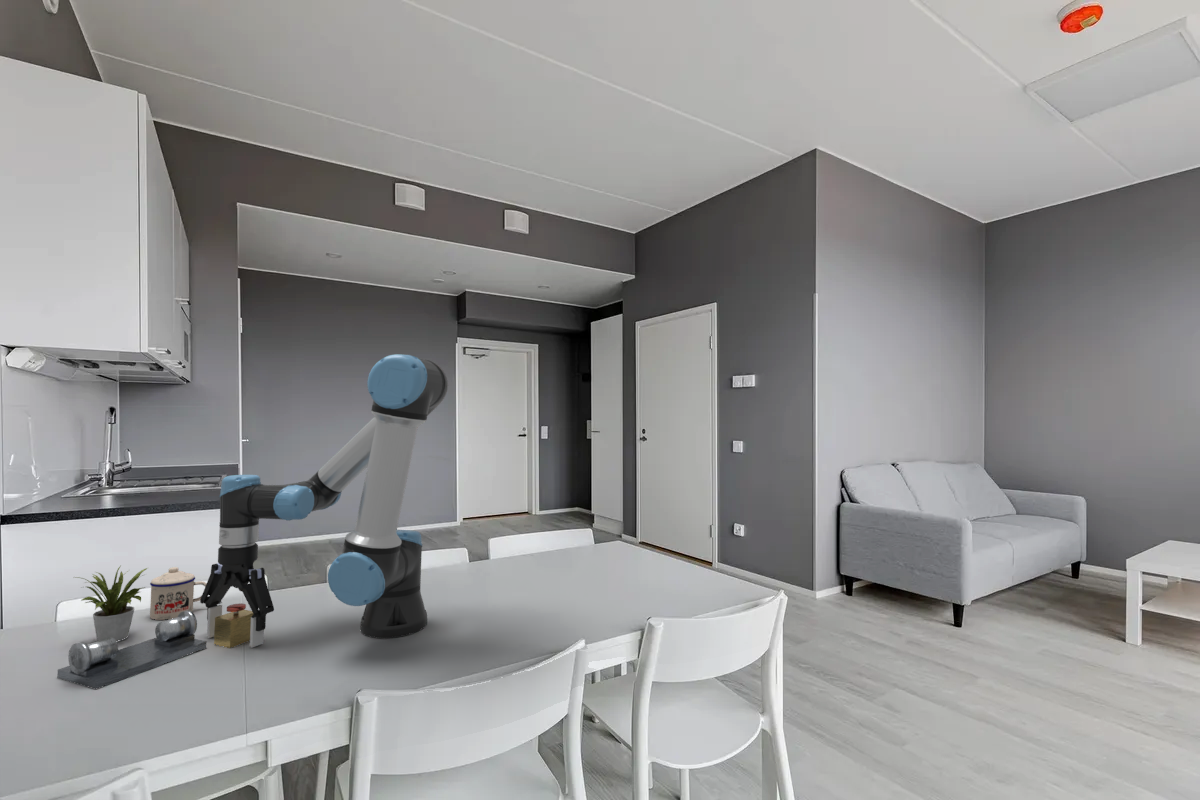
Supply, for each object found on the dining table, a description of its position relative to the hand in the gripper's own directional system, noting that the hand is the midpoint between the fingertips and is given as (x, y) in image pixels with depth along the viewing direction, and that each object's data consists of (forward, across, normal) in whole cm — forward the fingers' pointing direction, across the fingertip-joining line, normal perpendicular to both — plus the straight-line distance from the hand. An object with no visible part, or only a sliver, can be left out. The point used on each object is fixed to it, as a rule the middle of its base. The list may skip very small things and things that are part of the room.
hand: (235, 640), depth 126 cm
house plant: (0, -26, -11) cm, 28 cm away
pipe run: (0, -8, -15) cm, 17 cm away
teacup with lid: (0, -30, +7) cm, 31 cm away
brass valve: (0, 0, 0) cm, 0 cm away
